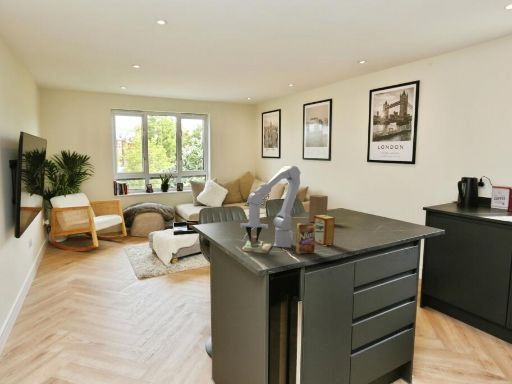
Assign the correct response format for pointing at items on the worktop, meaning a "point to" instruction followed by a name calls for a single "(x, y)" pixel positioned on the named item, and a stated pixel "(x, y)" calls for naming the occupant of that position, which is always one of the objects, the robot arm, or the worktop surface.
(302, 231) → the candy box
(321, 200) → the wooden block
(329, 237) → the baking soda box
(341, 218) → the worktop surface
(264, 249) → the stud board
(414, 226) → the worktop surface
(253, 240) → the keyhole panel
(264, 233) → the worktop surface
